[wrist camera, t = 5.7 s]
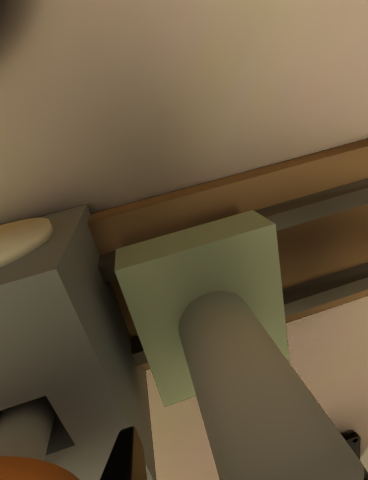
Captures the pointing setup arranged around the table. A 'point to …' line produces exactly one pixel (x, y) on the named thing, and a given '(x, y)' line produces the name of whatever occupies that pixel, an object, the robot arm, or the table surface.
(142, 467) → the robot arm
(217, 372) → the carriage
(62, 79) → the table surface
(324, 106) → the table surface
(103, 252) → the slide rail
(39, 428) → the brown rounded piece
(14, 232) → the cabinet
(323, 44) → the table surface
